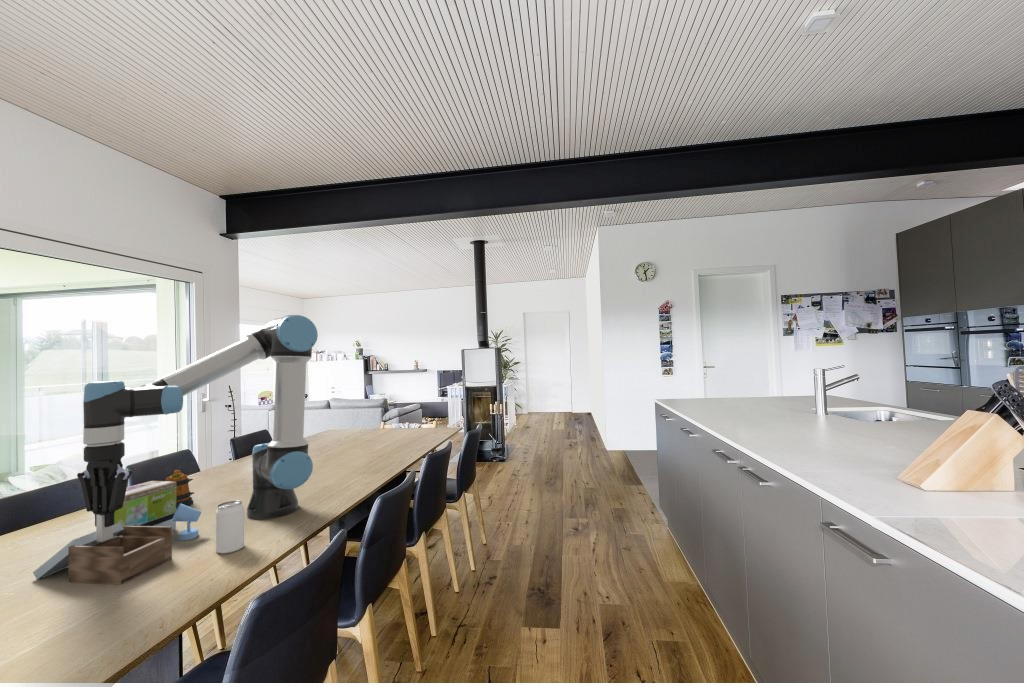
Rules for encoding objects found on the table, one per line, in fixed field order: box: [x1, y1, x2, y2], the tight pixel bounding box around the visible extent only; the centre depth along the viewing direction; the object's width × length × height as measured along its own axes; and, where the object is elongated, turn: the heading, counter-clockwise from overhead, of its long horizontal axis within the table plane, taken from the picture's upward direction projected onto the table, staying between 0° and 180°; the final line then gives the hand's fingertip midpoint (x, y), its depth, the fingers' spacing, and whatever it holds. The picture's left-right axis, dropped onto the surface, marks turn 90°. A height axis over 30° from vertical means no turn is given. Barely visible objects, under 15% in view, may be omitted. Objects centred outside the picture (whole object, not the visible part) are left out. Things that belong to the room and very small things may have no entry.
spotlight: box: [172, 503, 202, 541], centre depth 129 cm, size 5×10×7 cm
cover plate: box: [32, 523, 124, 580], centre depth 111 cm, size 13×11×2 cm
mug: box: [165, 469, 195, 510], centre depth 160 cm, size 13×10×12 cm
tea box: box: [112, 480, 177, 539], centre depth 130 cm, size 15×10×15 cm, turn 168°
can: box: [215, 500, 245, 555], centre depth 120 cm, size 6×6×12 cm
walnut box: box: [67, 526, 173, 585], centre depth 110 cm, size 14×13×8 cm
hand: (104, 539), depth 110 cm, fingers closed
